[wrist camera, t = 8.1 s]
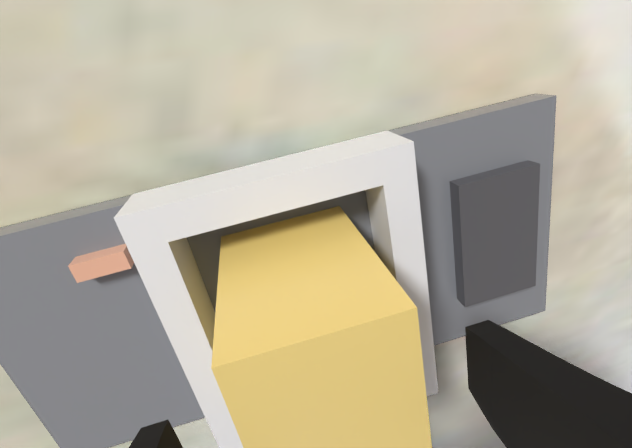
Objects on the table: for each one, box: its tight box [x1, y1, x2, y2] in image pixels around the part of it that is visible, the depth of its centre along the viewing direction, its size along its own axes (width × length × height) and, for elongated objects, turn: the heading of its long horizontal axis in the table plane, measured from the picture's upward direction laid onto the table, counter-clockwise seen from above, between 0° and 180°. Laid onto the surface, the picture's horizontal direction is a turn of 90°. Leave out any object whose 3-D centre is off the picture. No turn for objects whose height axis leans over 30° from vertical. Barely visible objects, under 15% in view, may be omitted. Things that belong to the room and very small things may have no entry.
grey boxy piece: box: [0, 94, 556, 448], centre depth 13 cm, size 20×10×3 cm, turn 102°
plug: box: [211, 206, 432, 448], centre depth 11 cm, size 4×8×6 cm, turn 12°
